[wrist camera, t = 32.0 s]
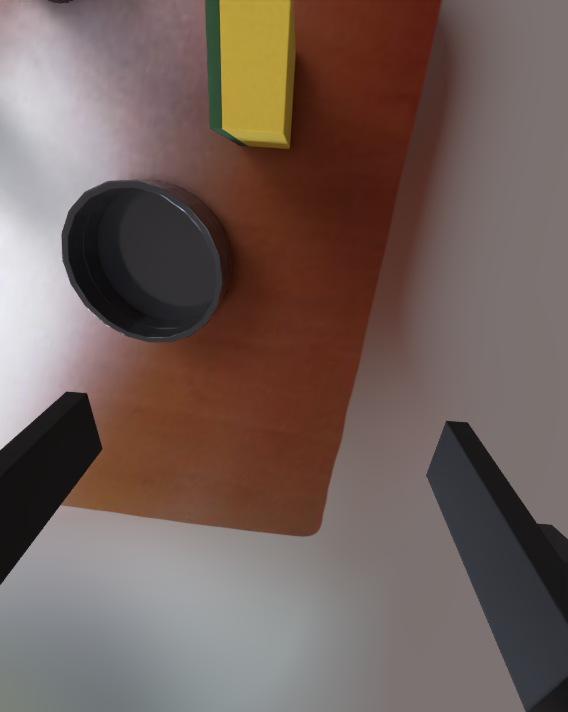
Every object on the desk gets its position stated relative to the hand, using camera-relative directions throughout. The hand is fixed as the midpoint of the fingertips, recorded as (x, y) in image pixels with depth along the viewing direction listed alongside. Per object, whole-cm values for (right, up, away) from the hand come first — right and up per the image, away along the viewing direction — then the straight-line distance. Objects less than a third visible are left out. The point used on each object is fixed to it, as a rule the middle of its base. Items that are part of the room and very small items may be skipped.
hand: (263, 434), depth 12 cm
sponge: (0, +26, +17) cm, 31 cm away
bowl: (-12, +14, +24) cm, 30 cm away
